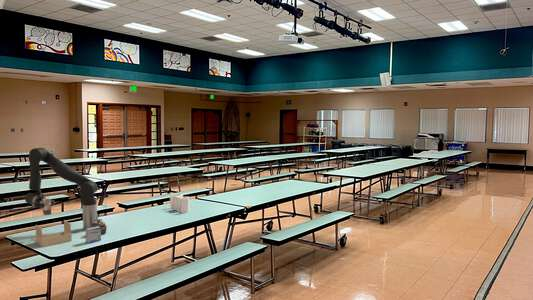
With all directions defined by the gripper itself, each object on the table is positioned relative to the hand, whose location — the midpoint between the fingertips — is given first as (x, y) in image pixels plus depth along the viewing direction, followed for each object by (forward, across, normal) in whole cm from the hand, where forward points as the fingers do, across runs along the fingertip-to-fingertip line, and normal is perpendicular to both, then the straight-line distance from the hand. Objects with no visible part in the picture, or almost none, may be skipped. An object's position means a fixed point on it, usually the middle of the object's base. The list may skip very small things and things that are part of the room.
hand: (47, 205), depth 255 cm
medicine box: (+28, +18, +22) cm, 40 cm away
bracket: (-11, +105, +22) cm, 108 cm away
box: (-2, 0, +6) cm, 6 cm away
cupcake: (+14, +27, +22) cm, 37 cm away
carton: (+5, 0, +22) cm, 22 cm away
